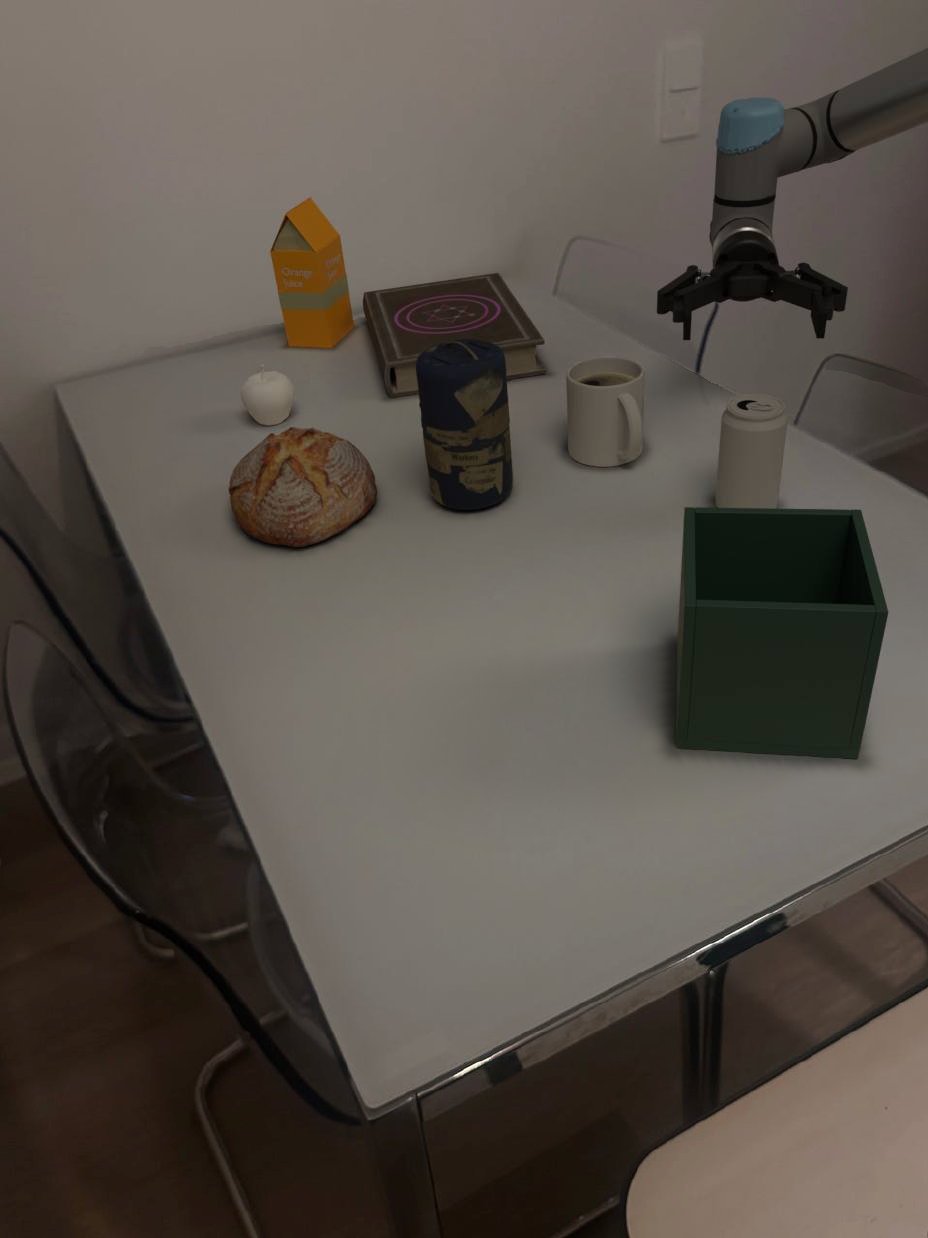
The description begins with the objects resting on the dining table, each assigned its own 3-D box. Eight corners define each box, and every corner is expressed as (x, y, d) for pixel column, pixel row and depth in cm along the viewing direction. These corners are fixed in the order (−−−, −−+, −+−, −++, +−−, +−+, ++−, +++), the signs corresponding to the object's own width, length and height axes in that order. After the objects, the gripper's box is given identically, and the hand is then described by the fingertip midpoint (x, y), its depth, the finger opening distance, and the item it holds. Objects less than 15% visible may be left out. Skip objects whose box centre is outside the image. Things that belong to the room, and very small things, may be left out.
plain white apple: (250, 435, 132) (237, 378, 127) (244, 414, 137) (231, 358, 132) (302, 424, 133) (291, 367, 128) (294, 404, 138) (283, 348, 134)
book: (545, 373, 139) (544, 339, 136) (387, 398, 137) (382, 364, 134) (500, 302, 164) (498, 272, 161) (365, 323, 162) (360, 292, 159)
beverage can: (729, 488, 110) (737, 386, 103) (786, 501, 107) (799, 397, 100) (704, 515, 106) (711, 410, 99) (763, 530, 103) (774, 423, 96)
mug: (575, 431, 125) (574, 354, 119) (652, 434, 122) (655, 356, 116) (558, 473, 116) (555, 393, 110) (640, 478, 114) (642, 396, 108)
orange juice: (355, 327, 161) (334, 195, 149) (333, 348, 154) (309, 212, 142) (311, 325, 163) (287, 196, 151) (287, 346, 156) (260, 213, 144)
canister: (449, 525, 109) (431, 368, 99) (418, 488, 116) (399, 338, 106) (528, 501, 112) (520, 346, 101) (493, 467, 119) (482, 318, 108)
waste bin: (837, 648, 87) (861, 509, 79) (858, 759, 77) (888, 611, 68) (677, 642, 90) (684, 506, 81) (676, 748, 79) (684, 605, 71)
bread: (239, 573, 107) (211, 492, 101) (239, 485, 123) (215, 411, 117) (389, 539, 108) (370, 457, 102) (370, 456, 123) (353, 381, 117)
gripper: (848, 289, 121) (874, 359, 105) (639, 293, 126) (632, 362, 109) (857, 225, 117) (886, 288, 100) (640, 232, 121) (633, 293, 105)
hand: (753, 326), depth 105 cm, fingers open, 13 cm apart
